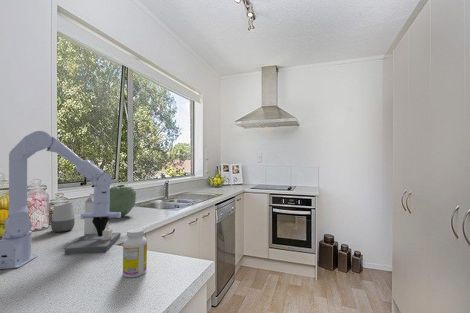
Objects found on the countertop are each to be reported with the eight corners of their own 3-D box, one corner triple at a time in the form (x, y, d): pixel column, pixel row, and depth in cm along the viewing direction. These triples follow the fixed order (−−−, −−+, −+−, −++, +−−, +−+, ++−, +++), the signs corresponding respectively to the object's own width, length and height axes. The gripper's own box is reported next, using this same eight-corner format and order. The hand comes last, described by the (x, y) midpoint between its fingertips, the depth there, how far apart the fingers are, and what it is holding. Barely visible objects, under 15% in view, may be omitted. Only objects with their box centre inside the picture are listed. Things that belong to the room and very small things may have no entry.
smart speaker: (56, 228, 118) (57, 200, 118) (77, 227, 120) (78, 200, 121) (46, 234, 109) (47, 203, 109) (69, 232, 111) (70, 203, 111)
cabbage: (100, 216, 146) (101, 183, 147) (132, 212, 157) (133, 182, 158) (103, 221, 134) (104, 185, 134) (138, 217, 144) (139, 184, 145)
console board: (106, 251, 88) (107, 244, 88) (64, 254, 85) (65, 246, 85) (120, 236, 106) (120, 230, 106) (86, 238, 103) (86, 232, 103)
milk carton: (83, 235, 108) (85, 193, 108) (99, 231, 114) (100, 192, 115) (93, 237, 104) (94, 194, 105) (108, 233, 111) (109, 192, 111)
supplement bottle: (139, 266, 76) (140, 226, 76) (150, 272, 72) (151, 229, 72) (118, 273, 71) (119, 230, 71) (129, 280, 66) (130, 234, 67)
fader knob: (108, 239, 95) (109, 230, 95) (102, 240, 94) (102, 230, 94) (112, 236, 98) (112, 227, 99) (105, 237, 98) (106, 228, 98)
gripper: (123, 200, 102) (122, 232, 101) (86, 201, 99) (85, 233, 98) (118, 203, 95) (117, 237, 94) (78, 204, 92) (77, 239, 91)
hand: (100, 235), depth 96 cm, fingers closed
